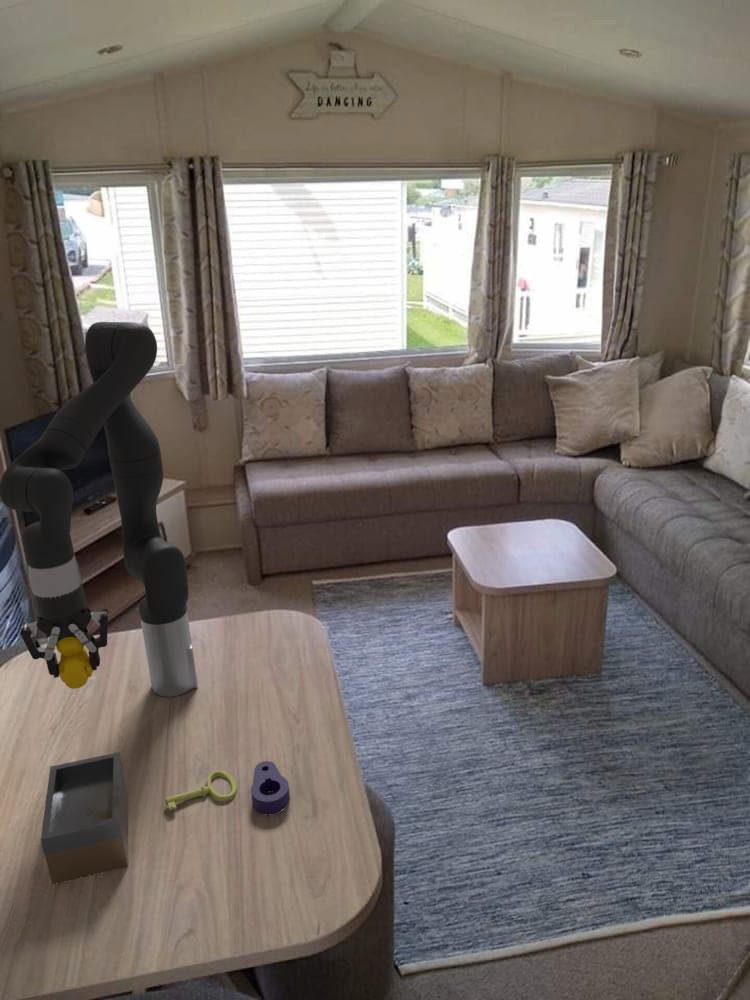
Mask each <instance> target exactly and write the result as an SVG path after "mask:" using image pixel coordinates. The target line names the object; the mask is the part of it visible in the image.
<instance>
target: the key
mask: <svg viewBox="0 0 750 1000" xmlns="http://www.w3.org/2000/svg"><path fill="white" fill-rule="evenodd" d="M217 777H222V778H224V779H226V780H227V781H228V782H229V785H230V788H231V791H230V793H228V794H219V792H217V791H216V790H215V789H214V788H213V785H212V781H213V779H215V778H217ZM237 793H238V784H237V782H236V780H235V778H234V776H232V775H231V774H230V773H229V772H227V771H224V770H222V769H219V770H214V771H212V772H210V773H209V774H208V777H207V779H206V786H205V785H203V784H202V785H200V788H197V789H193V790H190V791H187V792H183V793H179V794H177V795H172V796H168V797H165V801H164V802H165V805H166V806H167V807H168V810H169V811H172V810H176V809H177V805H176V804H177V803H181V802H183V801H187V800H191V799H195V798H199V797H201V796H202V797H203V798H205V797H206V796H207V795H210V797H211V798H212V800H215V801H217V802H220V803H224V802H229V801H231V800H233V799H234V798H235V796H236V795H237Z"/></svg>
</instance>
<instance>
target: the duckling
mask: <svg viewBox="0 0 750 1000" xmlns="http://www.w3.org/2000/svg"><path fill="white" fill-rule="evenodd" d="M84 647H85V645H84V644H82V643H81V642H80V641H79V639H78V638H76V637H67V638H63V639H61V640H60V641H59V642H58V641H57V643H56V646H55V648H56V650H57V651H58V653H60V661H58V671H59V677H60V680H61V682H63V683H64V685H66V687H68V688H69V689H73V690H75V689H80V688H81V687H84V686H85V685H86V684H87V682H88V680H89V678H91V677H92V676H93V672H94V671H92V667H91V662H90V658H89V654H88V652H87V650H86V649H85V648H84Z"/></svg>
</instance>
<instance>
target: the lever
mask: <svg viewBox="0 0 750 1000" xmlns="http://www.w3.org/2000/svg"><path fill="white" fill-rule="evenodd" d="M266 770H267V771H266ZM289 784H290V783H289V782H288V780H287V778H286V777H284V776H283V775H281V773H280V772H279V769H278V767H277V765H276V764H275V762H273V761H269V760H266V761H260V762H259V763H257V765H256V766H255V767H254V773H253V782H252V785H251V788H250V792H251V803H252V807H253V810H254V811H256V813H258V812H259V813H258V814H260V813H261V814H260V815H263V814H267V815H266V816H270V815H269V814H274V815H276V814H275V813H277V814H279V813H278V812H280V811H281V810H282V809H284V808H285V807H286V806H287V805H288V806H289V804H290V802H289V800H290V801H291V796H290V795H291V794H290V785H289ZM269 791H271V792H272V791H273V792H272V794H270V795H269V794H268V793H270V792H269ZM275 793H276V794H275ZM267 794H268V795H267ZM288 803H289V804H288ZM288 806H287V807H288ZM287 807H286V808H287ZM286 808H285V809H286ZM285 809H284V810H285ZM280 813H281V812H280Z"/></svg>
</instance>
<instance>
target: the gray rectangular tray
mask: <svg viewBox="0 0 750 1000" xmlns="http://www.w3.org/2000/svg"><path fill="white" fill-rule="evenodd" d="M47 781H48V782H47V789H46V796H45V803H44V804H45V805H44V813H43V819H42V826H41V836H40V842H41V847H42V850H43V854H44V858H45V862H46V866H47V869H48V872H49V873H48V874H49V877H50V882H51V885H52V886H53V884H55V885H57V884H56V883H59V884H62V883H61V882H63V883H65V882H64V881H67V882H70V881H69V880H71V881H75V880H78V879H77V878H79V879H81V878H80V877H83V878H87V877H90V876H89V875H91V876H94V874H95V875H98V874H97V873H99V874H102V873H101V872H103V873H106V872H110V870H111V871H115V870H119V869H123V868H126V867H129V791H128V786H127V781H126V776H125V771H124V766H123V761H122V755H121V752H120V751H118V752H113V753H109V754H104V755H100V756H94V757H89V758H86V759H85V758H84V759H80V760H75V761H71V762H70V761H69V762H67V763H61V764H57V765H51V766H50V767H49V774H48V780H47ZM114 869H115V870H114ZM86 876H87V877H86ZM74 879H75V880H74Z"/></svg>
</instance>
